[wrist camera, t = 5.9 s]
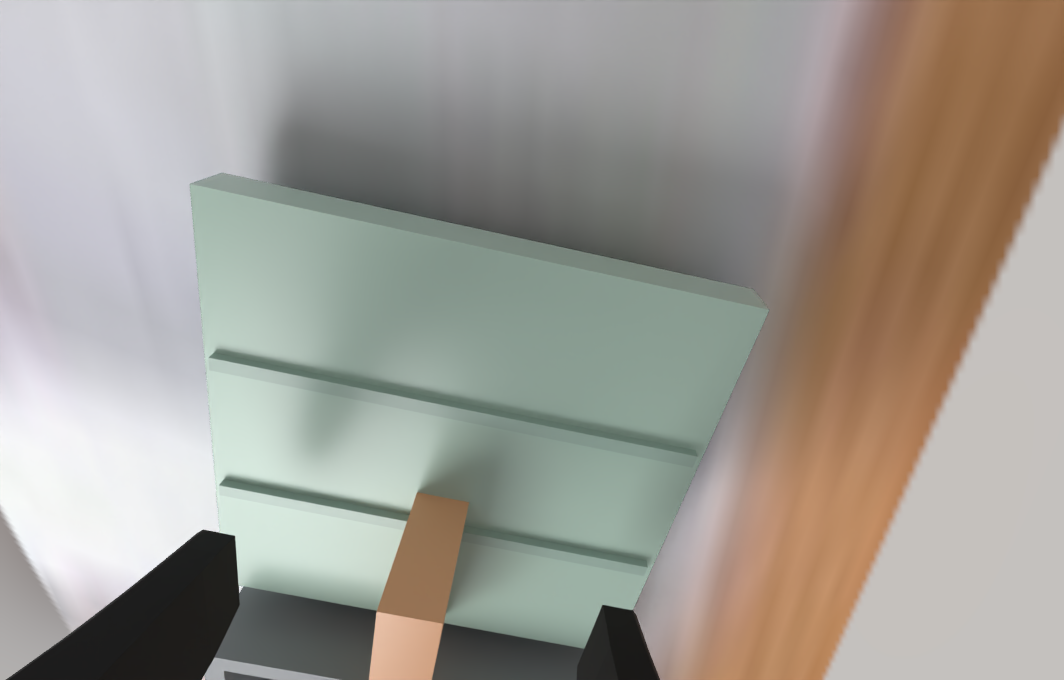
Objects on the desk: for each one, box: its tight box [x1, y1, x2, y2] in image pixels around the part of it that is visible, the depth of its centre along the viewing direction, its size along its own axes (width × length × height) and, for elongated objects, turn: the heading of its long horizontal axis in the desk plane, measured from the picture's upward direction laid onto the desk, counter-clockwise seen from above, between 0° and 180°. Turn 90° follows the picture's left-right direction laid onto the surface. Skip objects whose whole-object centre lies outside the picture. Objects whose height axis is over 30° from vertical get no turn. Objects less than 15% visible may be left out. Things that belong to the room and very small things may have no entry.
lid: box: [190, 173, 769, 680], centre depth 12 cm, size 10×10×5 cm
